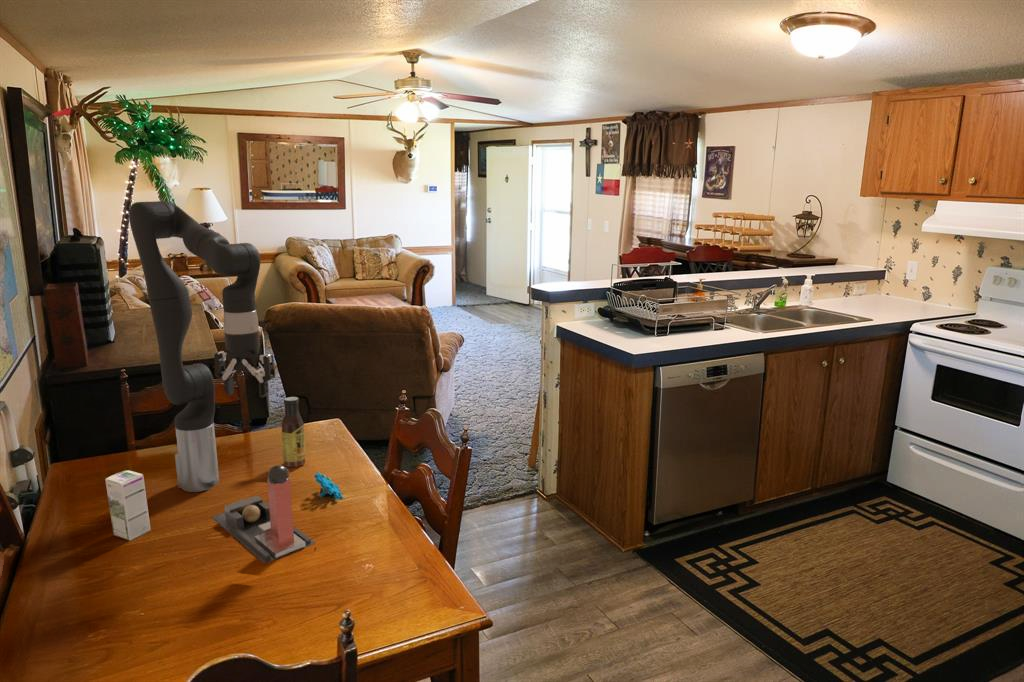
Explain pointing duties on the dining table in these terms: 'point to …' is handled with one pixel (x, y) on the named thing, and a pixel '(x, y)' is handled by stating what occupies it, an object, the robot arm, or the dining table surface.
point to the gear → (328, 486)
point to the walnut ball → (251, 513)
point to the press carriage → (279, 516)
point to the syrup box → (128, 504)
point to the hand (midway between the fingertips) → (246, 395)
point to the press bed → (251, 526)
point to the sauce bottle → (293, 434)
